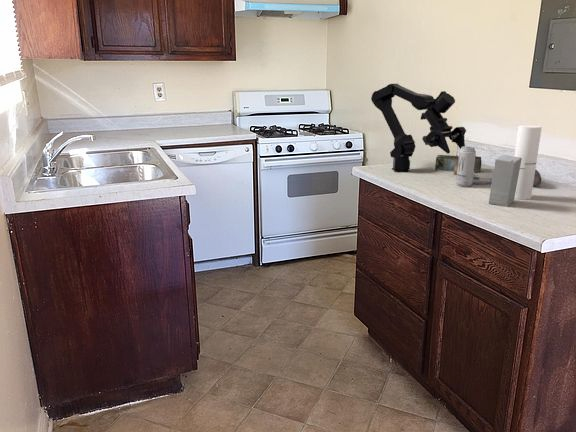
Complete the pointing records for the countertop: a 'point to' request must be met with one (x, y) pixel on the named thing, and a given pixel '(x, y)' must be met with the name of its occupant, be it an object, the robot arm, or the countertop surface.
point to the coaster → (481, 181)
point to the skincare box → (504, 180)
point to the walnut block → (455, 170)
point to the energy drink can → (466, 166)
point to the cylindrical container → (527, 159)
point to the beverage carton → (453, 163)
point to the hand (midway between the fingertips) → (456, 151)
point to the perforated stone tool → (537, 179)
